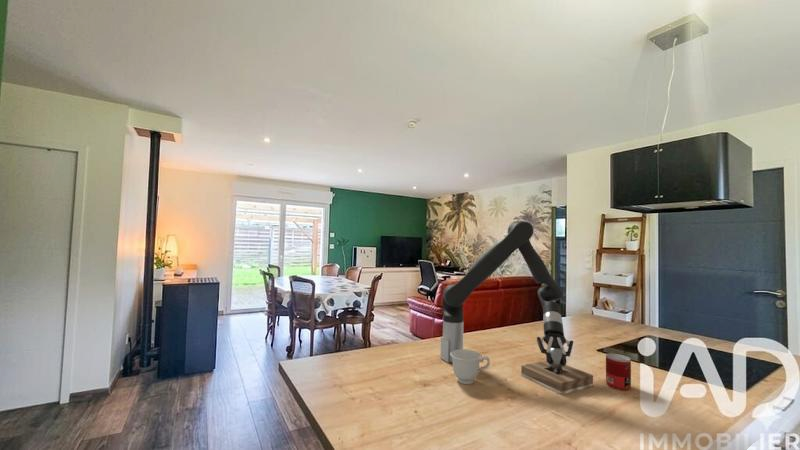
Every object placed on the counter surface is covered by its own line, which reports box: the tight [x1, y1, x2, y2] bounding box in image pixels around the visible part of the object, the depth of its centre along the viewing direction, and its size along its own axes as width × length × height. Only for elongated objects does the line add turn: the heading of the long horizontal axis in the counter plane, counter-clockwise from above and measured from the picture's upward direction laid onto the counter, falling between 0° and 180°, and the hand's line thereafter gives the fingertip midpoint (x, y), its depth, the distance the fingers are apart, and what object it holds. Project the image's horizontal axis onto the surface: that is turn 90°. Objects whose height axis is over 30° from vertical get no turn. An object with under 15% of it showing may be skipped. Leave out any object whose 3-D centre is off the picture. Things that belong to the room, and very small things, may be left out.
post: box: [550, 347, 562, 374], centre depth 130 cm, size 4×4×10 cm
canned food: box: [605, 353, 632, 391], centre depth 126 cm, size 8×8×11 cm
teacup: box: [450, 348, 491, 385], centre depth 127 cm, size 12×15×10 cm
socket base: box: [520, 360, 594, 396], centre depth 129 cm, size 18×18×4 cm
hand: (556, 364), depth 128 cm, fingers closed on post, 4 cm apart
